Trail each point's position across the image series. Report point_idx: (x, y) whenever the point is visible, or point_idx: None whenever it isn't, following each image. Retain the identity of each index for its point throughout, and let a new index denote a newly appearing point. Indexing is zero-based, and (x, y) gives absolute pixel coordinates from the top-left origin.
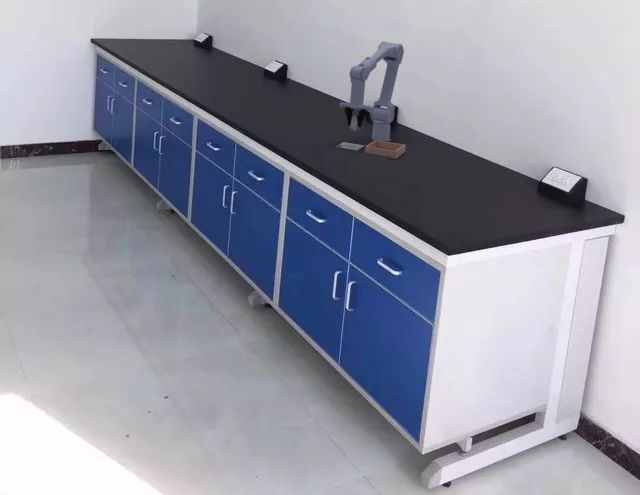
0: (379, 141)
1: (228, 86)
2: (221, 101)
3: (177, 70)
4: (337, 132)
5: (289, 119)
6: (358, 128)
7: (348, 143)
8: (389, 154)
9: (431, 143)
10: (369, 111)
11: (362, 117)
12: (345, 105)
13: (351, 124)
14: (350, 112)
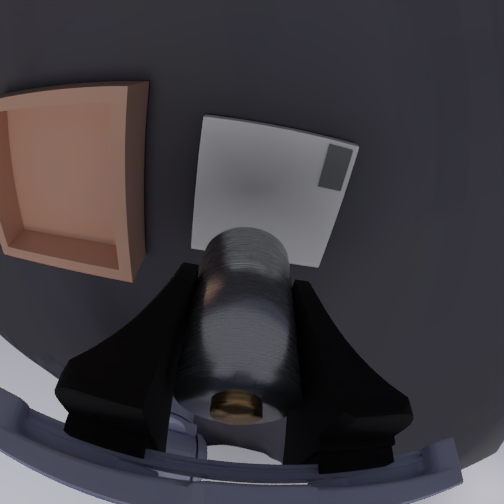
0: (104, 266)
1: (458, 450)
2: (501, 412)
3: (480, 449)
4: None
5: (441, 407)
6: (201, 265)
7: (287, 253)
8: (13, 93)
9: (51, 361)
10: (15, 398)
11: (116, 334)
12: (408, 483)
13: (275, 274)
14: (313, 412)
